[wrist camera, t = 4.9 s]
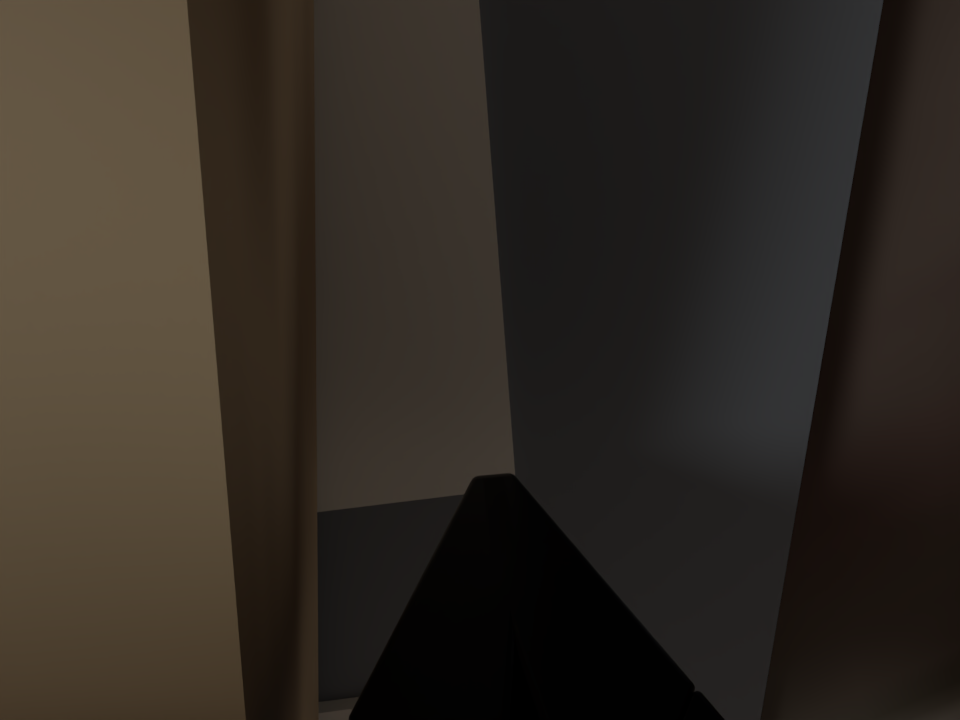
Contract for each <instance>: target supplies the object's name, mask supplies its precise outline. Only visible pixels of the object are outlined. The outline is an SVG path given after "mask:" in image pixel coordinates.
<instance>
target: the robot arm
mask: <svg viewBox="0 0 960 720" xmlns="http://www.w3.org/2000/svg"><path fill="white" fill-rule="evenodd" d="M349 720H725V719H724V718H723V717H722V716H721V715H720V713H719V712H718V711H717V710H716V709H715V708H714V706H713V705H712V704H711V703H710V702H709V701H708V699H707V698H706V697H705V696H704V695H703V693H701V692H700V691H695V686H694V684H693V682H692V681H691V680H690V679H689V678H688V677H687V675H686V674H685V673H684V672H683V671H682V670H681V668H680V667H679V666H678V665H677V664H676V663H675V661H674V660H673V659H672V658H671V657H670V656H669V654H668V653H667V652H666V651H665V650H664V649H663V647H662V646H661V645H660V644H659V643H658V642H657V640H656V639H655V638H654V637H653V636H652V635H651V633H650V632H649V631H648V630H647V629H646V628H645V626H644V625H643V624H642V623H641V622H640V621H639V619H638V618H637V617H636V616H635V615H634V614H633V612H632V611H631V610H630V609H629V608H628V607H627V605H626V604H625V603H624V602H623V601H622V600H621V599H620V597H619V596H618V595H617V594H616V593H615V592H614V590H613V589H612V588H611V587H610V586H609V585H608V583H607V582H606V581H605V580H604V579H603V578H602V576H601V575H600V574H599V573H598V572H597V571H596V569H595V568H594V567H593V566H592V565H591V564H590V562H589V561H588V560H587V559H586V558H585V557H584V555H583V554H582V553H581V552H580V551H579V550H578V548H577V547H576V546H575V545H574V544H573V543H572V541H571V540H570V539H569V538H568V537H567V536H566V534H565V533H564V532H563V531H562V530H561V529H560V527H559V526H558V525H557V524H556V523H555V522H554V520H553V519H552V518H551V517H550V516H549V515H548V513H547V512H546V511H545V510H544V509H543V508H542V506H541V505H540V504H539V503H538V502H537V501H536V499H535V498H534V497H533V496H532V495H531V494H530V492H529V491H528V490H527V489H526V488H525V487H524V485H523V484H522V483H521V482H520V481H519V480H518V479H517V477H516V476H515V475H513V474H511V473H502V474H491V475H479V476H475V477H474V478H473V479H472V480H471V482H470V484H469V485H468V487H467V489H466V491H465V493H464V495H463V497H462V499H461V501H460V503H459V505H458V507H457V509H456V511H455V513H454V514H453V516H452V518H451V520H450V522H449V524H448V526H447V528H446V530H445V532H444V534H443V536H442V538H441V540H440V541H439V543H438V545H437V547H436V549H435V551H434V553H433V555H432V557H431V559H430V561H429V563H428V565H427V567H426V569H425V570H424V572H423V574H422V576H421V578H420V580H419V582H418V584H417V586H416V588H415V590H414V592H413V594H412V596H411V597H410V599H409V601H408V603H407V605H406V607H405V609H404V611H403V613H402V615H401V617H400V619H399V621H398V623H397V624H396V626H395V628H394V630H393V632H392V634H391V636H390V638H389V640H388V642H387V644H386V646H385V648H384V650H383V652H382V653H381V655H380V657H379V659H378V661H377V663H376V665H375V667H374V669H373V671H372V673H371V675H370V677H369V679H368V680H367V682H366V684H365V686H364V688H363V690H362V692H361V694H360V696H359V698H358V700H357V702H356V704H355V706H354V707H353V709H352V711H351V713H350V715H349Z"/></svg>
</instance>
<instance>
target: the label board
mask: <svg viewBox="0 0 960 720" xmlns="http://www.w3.org/2000/svg"><path fill="white" fill-rule="evenodd" d="M882 6H883V0H314V95H315V248H316V400H317V552H318V704H319V720H349V715H350V713H351V711H352V709H353V707H354V706H355V704H356V702H357V700H358V698H359V696H360V694H361V692H362V690H363V688H364V686H365V684H366V682H367V680H368V679H369V677H370V675H371V673H372V671H373V669H374V667H375V665H376V663H377V661H378V659H379V657H380V655H381V653H382V652H383V650H384V648H385V646H386V644H387V642H388V640H389V638H390V636H391V634H392V632H393V630H394V628H395V626H396V624H397V623H398V621H399V619H400V617H401V615H402V613H403V611H404V609H405V607H406V605H407V603H408V601H409V599H410V597H411V596H412V594H413V592H414V590H415V588H416V586H417V584H418V582H419V580H420V578H421V576H422V574H423V572H424V570H425V569H426V567H427V565H428V563H429V561H430V559H431V557H432V555H433V553H434V551H435V549H436V547H437V545H438V543H439V541H440V540H441V538H442V536H443V534H444V532H445V530H446V528H447V526H448V524H449V522H450V520H451V518H452V516H453V514H454V513H455V511H456V509H457V507H458V505H459V503H460V501H461V499H462V497H463V495H464V493H465V491H466V489H467V487H468V485H469V484H470V482H471V480H472V479H473V478H474V477H475V476H479V475H491V474H502V473H511V474H513V475H515V476H516V477H517V479H518V480H519V481H520V482H521V483H522V484H523V485H524V487H525V488H526V489H527V490H528V491H529V492H530V494H531V495H532V496H533V497H534V498H535V499H536V501H537V502H538V503H539V504H540V505H541V506H542V508H543V509H544V510H545V511H546V512H547V513H548V515H549V516H550V517H551V518H552V519H553V520H554V522H555V523H556V524H557V525H558V526H559V527H560V529H561V530H562V531H563V532H564V533H565V534H566V536H567V537H568V538H569V539H570V540H571V541H572V543H573V544H574V545H575V546H576V547H577V548H578V550H579V551H580V552H581V553H582V554H583V555H584V557H585V558H586V559H587V560H588V561H589V562H590V564H591V565H592V566H593V567H594V568H595V569H596V571H597V572H598V573H599V574H600V575H601V576H602V578H603V579H604V580H605V581H606V582H607V583H608V585H609V586H610V587H611V588H612V589H613V590H614V592H615V593H616V594H617V595H618V596H619V597H620V599H621V600H622V601H623V602H624V603H625V604H626V605H627V607H628V608H629V609H630V610H631V611H632V612H633V614H634V615H635V616H636V617H637V618H638V619H639V621H640V622H641V623H642V624H643V625H644V626H645V628H646V629H647V630H648V631H649V632H650V633H651V635H652V636H653V637H654V638H655V639H656V640H657V642H658V643H659V644H660V645H661V646H662V647H663V649H664V650H665V651H666V652H667V653H668V654H669V656H670V657H671V658H672V659H673V660H674V661H675V663H676V664H677V665H678V666H679V667H680V668H681V670H682V671H683V672H684V673H685V674H686V675H687V677H688V678H689V679H690V680H691V681H692V682H693V684H694V686H695V691H700V692H701V693H703V695H704V696H705V697H706V698H707V699H708V701H709V702H710V703H711V704H712V705H713V706H714V708H715V709H716V710H717V711H718V712H719V713H720V715H721V716H722V717H723V718H724V719H725V720H760V719H761V713H762V707H763V702H764V696H765V690H766V684H767V678H768V672H769V666H770V661H771V655H772V649H773V643H774V637H775V631H776V625H777V620H778V614H779V608H780V602H781V596H782V590H783V585H784V579H785V573H786V567H787V561H788V555H789V549H790V544H791V538H792V532H793V526H794V520H795V514H796V508H797V503H798V497H799V491H800V485H801V479H802V473H803V468H804V462H805V456H806V450H807V444H808V438H809V432H810V427H811V421H812V415H813V409H814V403H815V397H816V392H817V386H818V380H819V374H820V368H821V362H822V356H823V351H824V345H825V339H826V333H827V327H828V321H829V316H830V310H831V304H832V298H833V292H834V286H835V280H836V275H837V269H838V263H839V257H840V251H841V245H842V239H843V234H844V228H845V222H846V216H847V210H848V204H849V199H850V193H851V187H852V181H853V175H854V169H855V163H856V158H857V152H858V146H859V140H860V134H861V128H862V122H863V117H864V111H865V105H866V99H867V93H868V87H869V82H870V76H871V70H872V64H873V58H874V52H875V46H876V41H877V35H878V29H879V23H880V17H881V11H882Z"/></svg>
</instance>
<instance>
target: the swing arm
mask: <svg viewBox="0 0 960 720" xmlns="http://www.w3.org/2000/svg"><path fill="white" fill-rule="evenodd" d="M0 720H319V704H318V552H317V400H316V248H315V95H314V0H0Z"/></svg>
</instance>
